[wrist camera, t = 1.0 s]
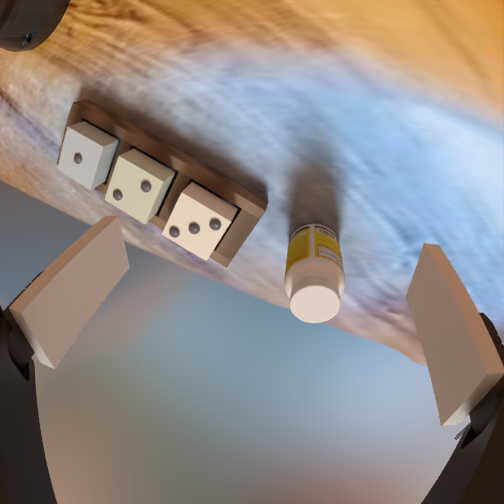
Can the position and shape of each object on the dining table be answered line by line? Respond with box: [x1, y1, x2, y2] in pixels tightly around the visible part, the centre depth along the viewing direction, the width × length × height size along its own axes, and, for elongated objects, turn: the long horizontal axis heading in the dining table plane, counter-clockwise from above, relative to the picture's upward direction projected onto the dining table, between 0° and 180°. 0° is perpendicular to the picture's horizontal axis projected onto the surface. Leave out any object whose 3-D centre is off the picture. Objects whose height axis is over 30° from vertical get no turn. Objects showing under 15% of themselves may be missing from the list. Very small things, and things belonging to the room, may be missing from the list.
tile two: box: [105, 149, 175, 224], centre depth 31 cm, size 6×6×3 cm
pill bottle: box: [284, 224, 345, 323], centre depth 32 cm, size 6×6×11 cm
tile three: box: [162, 182, 238, 261], centre depth 33 cm, size 6×6×3 cm
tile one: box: [58, 121, 119, 190], centre depth 30 cm, size 6×6×3 cm
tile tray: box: [57, 100, 268, 267], centre depth 34 cm, size 27×9×2 cm, turn 59°
